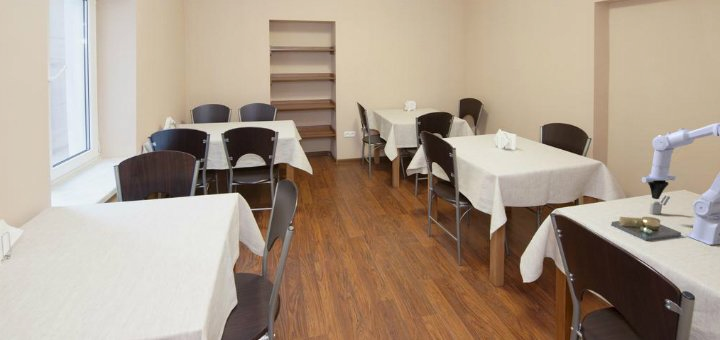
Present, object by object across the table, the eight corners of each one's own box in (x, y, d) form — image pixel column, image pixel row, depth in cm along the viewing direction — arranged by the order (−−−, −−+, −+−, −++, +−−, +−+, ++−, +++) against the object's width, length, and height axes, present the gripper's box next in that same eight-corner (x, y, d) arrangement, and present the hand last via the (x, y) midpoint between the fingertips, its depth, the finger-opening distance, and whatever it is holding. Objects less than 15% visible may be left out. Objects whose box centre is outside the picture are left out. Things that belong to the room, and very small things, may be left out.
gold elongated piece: (655, 224, 173) (656, 217, 172) (661, 230, 168) (663, 222, 167) (617, 222, 176) (618, 214, 175) (622, 227, 170) (623, 220, 170)
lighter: (652, 214, 190) (655, 196, 188) (649, 213, 191) (652, 195, 189) (667, 213, 190) (670, 195, 188) (664, 212, 192) (667, 194, 190)
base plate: (680, 236, 167) (681, 228, 166) (645, 240, 163) (647, 232, 162) (643, 221, 182) (644, 214, 181) (611, 225, 178) (612, 217, 177)
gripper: (666, 162, 183) (660, 194, 186) (637, 164, 179) (632, 197, 182) (682, 166, 176) (676, 199, 179) (652, 168, 172) (647, 202, 176)
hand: (655, 198), depth 180 cm, fingers closed
